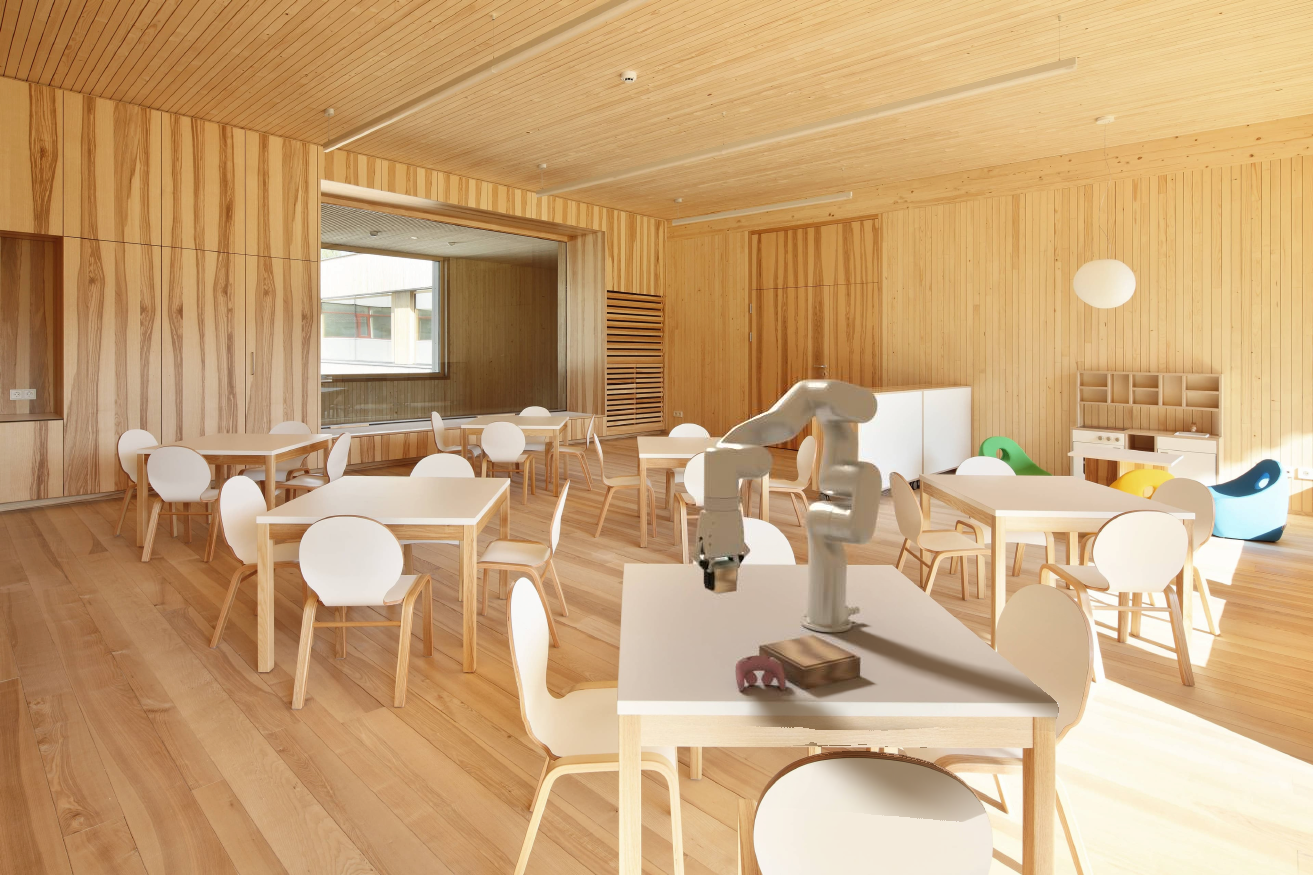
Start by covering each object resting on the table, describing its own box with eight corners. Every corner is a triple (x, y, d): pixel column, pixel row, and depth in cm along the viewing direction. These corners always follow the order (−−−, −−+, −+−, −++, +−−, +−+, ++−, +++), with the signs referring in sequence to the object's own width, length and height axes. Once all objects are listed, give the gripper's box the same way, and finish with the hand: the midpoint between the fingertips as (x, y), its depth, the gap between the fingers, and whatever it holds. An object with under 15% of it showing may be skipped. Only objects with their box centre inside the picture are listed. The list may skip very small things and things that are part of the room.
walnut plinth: (812, 652, 164) (813, 633, 164) (859, 675, 151) (860, 655, 150) (758, 663, 157) (759, 644, 157) (803, 689, 144) (803, 668, 143)
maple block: (724, 585, 160) (724, 558, 159) (737, 590, 155) (737, 563, 155) (704, 588, 158) (704, 560, 157) (716, 594, 153) (717, 565, 153)
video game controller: (783, 691, 146) (780, 655, 149) (787, 690, 142) (785, 653, 145) (734, 692, 146) (732, 656, 148) (738, 691, 142) (736, 654, 144)
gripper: (744, 498, 162) (743, 578, 164) (678, 504, 154) (677, 587, 156) (763, 503, 156) (762, 586, 157) (696, 510, 148) (695, 597, 149)
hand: (720, 586), depth 156 cm, fingers closed on maple block, 5 cm apart
